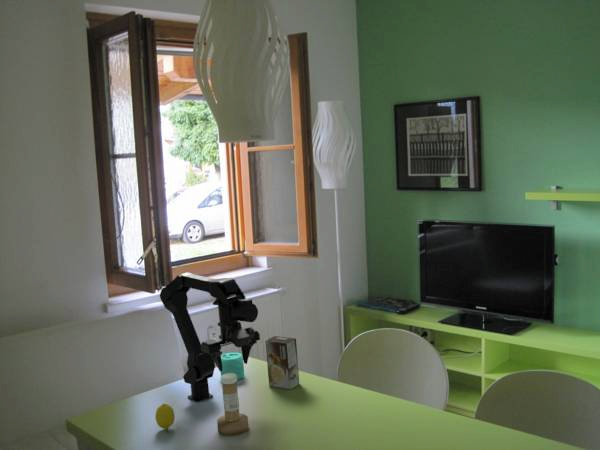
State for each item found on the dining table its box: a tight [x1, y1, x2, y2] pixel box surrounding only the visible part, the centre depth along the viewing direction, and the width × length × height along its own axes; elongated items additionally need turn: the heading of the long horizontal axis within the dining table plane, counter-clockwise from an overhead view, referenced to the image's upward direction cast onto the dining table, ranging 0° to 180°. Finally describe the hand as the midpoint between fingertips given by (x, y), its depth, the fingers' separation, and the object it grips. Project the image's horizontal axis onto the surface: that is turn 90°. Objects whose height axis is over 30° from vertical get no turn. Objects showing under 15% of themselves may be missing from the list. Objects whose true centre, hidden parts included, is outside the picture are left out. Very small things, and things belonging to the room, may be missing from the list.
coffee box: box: [264, 335, 300, 390], centre depth 229 cm, size 9×6×16 cm
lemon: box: [155, 403, 176, 430], centre depth 200 cm, size 6×6×8 cm
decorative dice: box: [219, 352, 245, 381], centre depth 240 cm, size 8×8×8 cm
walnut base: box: [216, 412, 249, 437], centre depth 197 cm, size 9×9×3 cm
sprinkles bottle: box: [220, 373, 240, 422], centre depth 196 cm, size 5×5×14 cm
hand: (233, 367), depth 211 cm, fingers open, 9 cm apart
